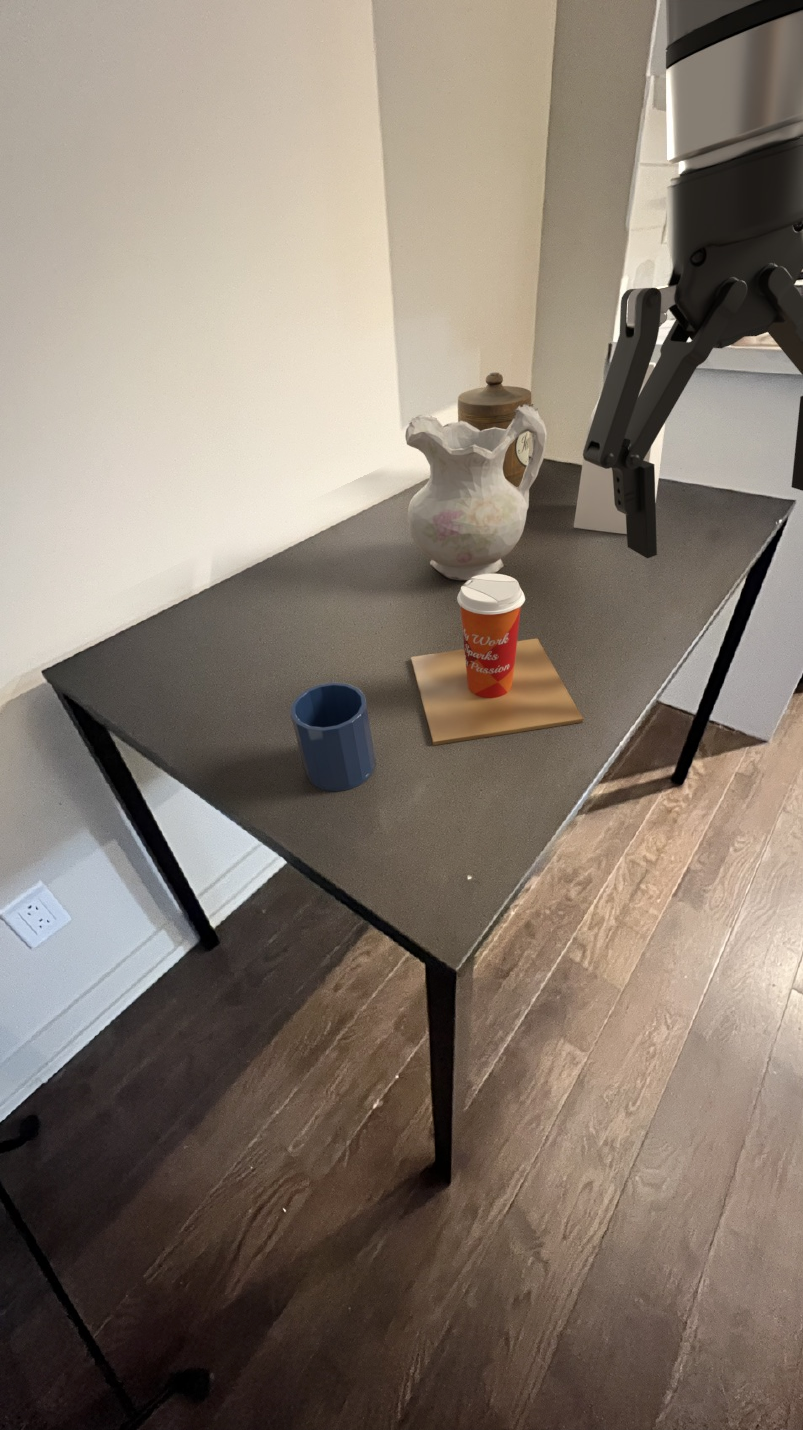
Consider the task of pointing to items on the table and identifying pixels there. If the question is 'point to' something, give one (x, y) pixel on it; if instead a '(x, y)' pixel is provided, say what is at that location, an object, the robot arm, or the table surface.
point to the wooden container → (498, 419)
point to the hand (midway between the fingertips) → (726, 520)
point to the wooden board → (470, 716)
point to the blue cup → (334, 736)
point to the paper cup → (490, 632)
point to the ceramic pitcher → (471, 492)
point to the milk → (608, 487)
